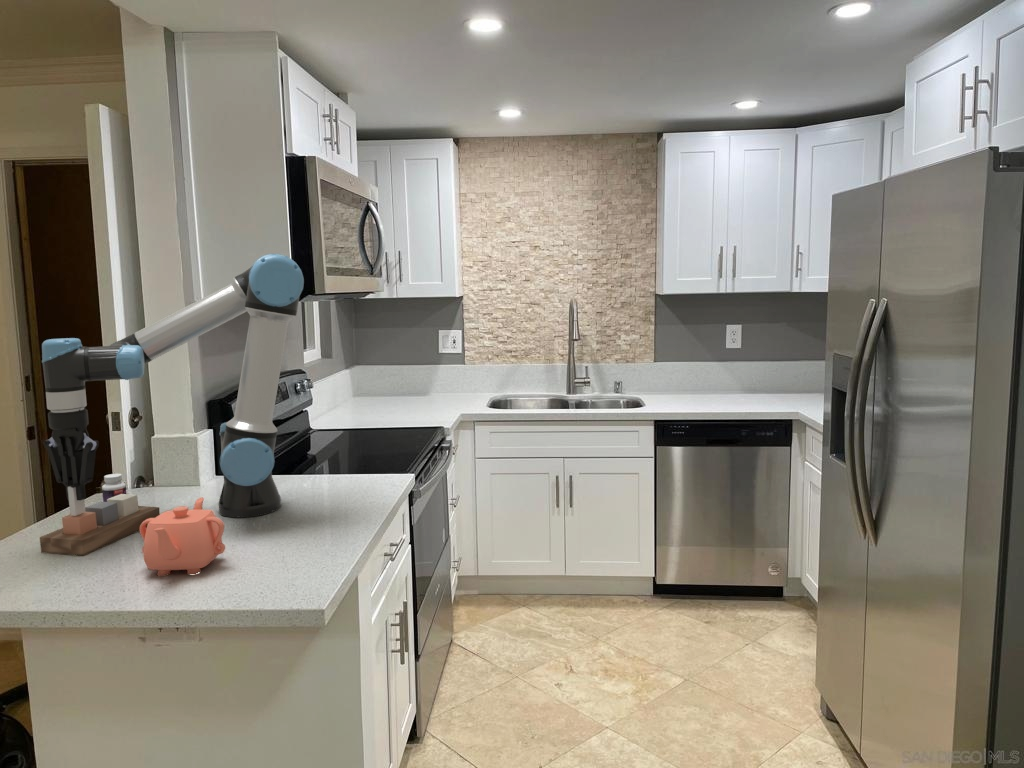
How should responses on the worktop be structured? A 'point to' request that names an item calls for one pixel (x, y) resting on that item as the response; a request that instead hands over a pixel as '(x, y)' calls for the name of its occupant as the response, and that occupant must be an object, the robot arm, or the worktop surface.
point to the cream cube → (125, 504)
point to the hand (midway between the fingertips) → (78, 513)
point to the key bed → (96, 534)
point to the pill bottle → (113, 486)
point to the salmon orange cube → (79, 523)
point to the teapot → (182, 539)
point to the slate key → (104, 512)
